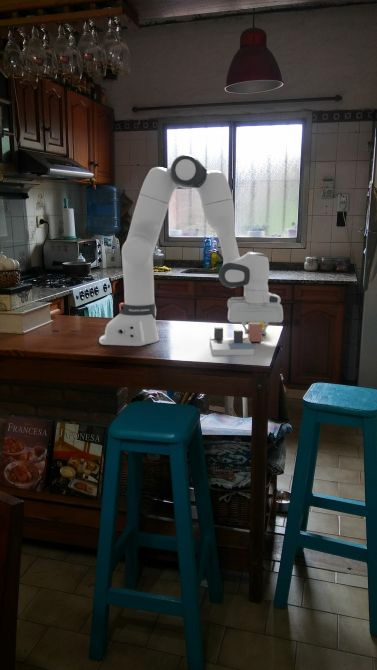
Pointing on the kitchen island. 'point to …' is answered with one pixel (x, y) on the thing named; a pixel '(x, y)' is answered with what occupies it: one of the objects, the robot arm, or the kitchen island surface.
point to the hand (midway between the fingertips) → (254, 333)
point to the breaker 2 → (238, 336)
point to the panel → (231, 347)
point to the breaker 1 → (218, 333)
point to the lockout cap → (255, 331)
